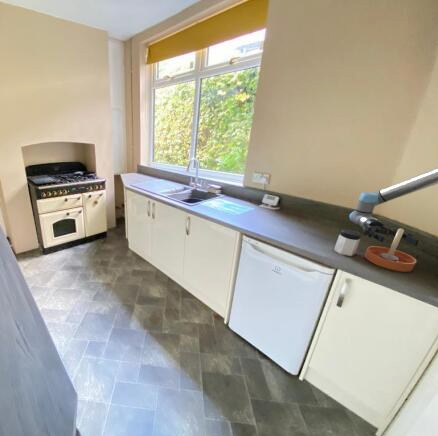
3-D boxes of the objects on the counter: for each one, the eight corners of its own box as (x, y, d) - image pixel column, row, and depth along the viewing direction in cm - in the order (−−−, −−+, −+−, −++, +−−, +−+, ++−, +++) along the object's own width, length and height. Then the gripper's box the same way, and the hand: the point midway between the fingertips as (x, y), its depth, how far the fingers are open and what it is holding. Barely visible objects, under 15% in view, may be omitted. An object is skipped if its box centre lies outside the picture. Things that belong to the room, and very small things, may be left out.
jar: (330, 248, 132) (337, 228, 127) (344, 248, 132) (351, 228, 127) (343, 256, 123) (351, 235, 119) (358, 256, 124) (366, 235, 119)
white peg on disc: (395, 261, 118) (410, 228, 111) (397, 266, 113) (412, 232, 107) (378, 257, 122) (391, 224, 115) (379, 262, 117) (393, 228, 110)
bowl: (408, 262, 119) (412, 253, 117) (415, 277, 106) (420, 268, 104) (363, 251, 129) (366, 243, 127) (364, 264, 116) (368, 255, 115)
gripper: (395, 233, 130) (428, 251, 110) (343, 228, 135) (365, 245, 116) (400, 220, 127) (435, 237, 108) (347, 216, 132) (371, 231, 113)
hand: (399, 241), depth 112 cm, fingers open, 13 cm apart
